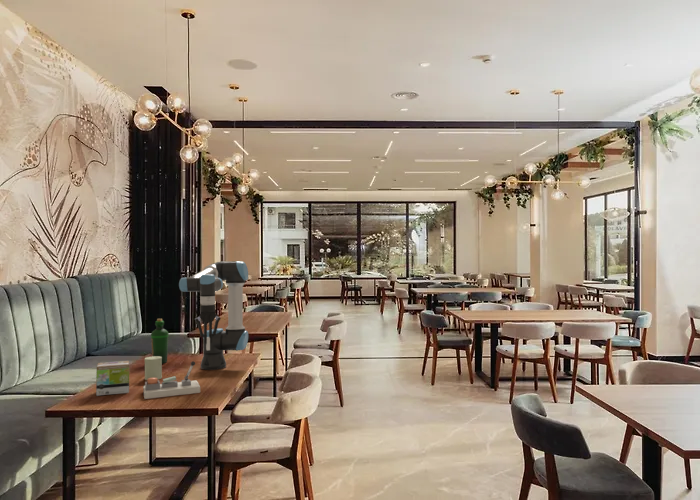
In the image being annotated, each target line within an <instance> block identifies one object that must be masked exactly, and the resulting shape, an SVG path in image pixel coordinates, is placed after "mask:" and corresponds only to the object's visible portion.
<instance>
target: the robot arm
mask: <svg viewBox="0 0 700 500" xmlns="http://www.w3.org/2000/svg"><path fill="white" fill-rule="evenodd" d="M248 279H249V269H248V266H247V264H246V263H245V261H236V260H235V261H233V260H232V261H217V262H214V263H211V264H209V265H207V266H205V267H204V268H203V270H200V271H199V272H198V273H195V274H194V275H191V276H190V277H181V278H180V279H179V282H178V287H179V290H180V291H181V292H184V293H185V292H187V293H188V292H189V293H191V292H192V293H194V292H195V293H197V292H198V293H199V297H200V298H199V299H200V300H199V302H200V305H199V307H200V308H199V312H200V313H199V314H198V315H199V316H198V317H196V318H194V320H195V322H196V323H197V328H198V331H199V336H200V337H202V338H203V340H202V341H203V342H202V343H203V345H202V347H203V356H202V359H201V362H200V369H201V370H204V371H206V370H207V371H215V370H221V369H225V368H226V367H227V362H226V358H225V356H224V351H243V350H245V349H246V348H247V345H248V341H249V331H248V330H246V327H245V325H243V323H244V322H243V319H244V318H243V313H244V311H243V307H244V306H243V302H244V300H243V299H244V297H243V293H244V291H243V290H244V285H245V284H246V281H248ZM223 281H225V284H226V285H227V286H228V287H227V288H228V289H227V292H228V293H227V294H228V297H227V298H228V299H227V300H228V301H227V302H228V304H227V307H228V308H227V311H228V312H227V316H228V317H227V318H228V321H227V324H228V325H227V327H225V330H224V328H221V327H218V326H219V322H220V321H221V318H222V317H220V316H218V315H217V313H216V292H218V291H220V290H222V289H223V287H224V282H223ZM214 320H215V323H214V327H213V322H214ZM200 321H202V322H203V327H202V325H201V322H200Z"/></svg>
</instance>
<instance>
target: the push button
mask: <svg viewBox="0 0 700 500" xmlns="http://www.w3.org/2000/svg"><path fill="white" fill-rule="evenodd" d="M158 381H159V379H157V378H148V380H147V382H148V384H157V383H158Z"/></svg>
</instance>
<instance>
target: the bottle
mask: <svg viewBox="0 0 700 500" xmlns="http://www.w3.org/2000/svg"><path fill="white" fill-rule="evenodd" d="M154 325H155V327H156V328H155V329H154V330H153V331H151V333H150V342H151V357H152V356H160V357H162V364H163V365H164V364H166V363H167V362H168V354H169V352H168V351H169V350H168V349H169V348H168V347H169V331H168V330H167V329H165V328H164V325H165V321H164V320H163V318H157V319H156V321H155V323H154Z"/></svg>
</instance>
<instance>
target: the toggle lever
mask: <svg viewBox="0 0 700 500" xmlns="http://www.w3.org/2000/svg"><path fill="white" fill-rule="evenodd" d="M195 365H196V361H194V360H193V361H191V362H190V366H189V369H188V370H187V373H186V375H185V376H184V379H183V380H188V379H189V376H190V374H191V371H192V370H193V367H194V366H195Z"/></svg>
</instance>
